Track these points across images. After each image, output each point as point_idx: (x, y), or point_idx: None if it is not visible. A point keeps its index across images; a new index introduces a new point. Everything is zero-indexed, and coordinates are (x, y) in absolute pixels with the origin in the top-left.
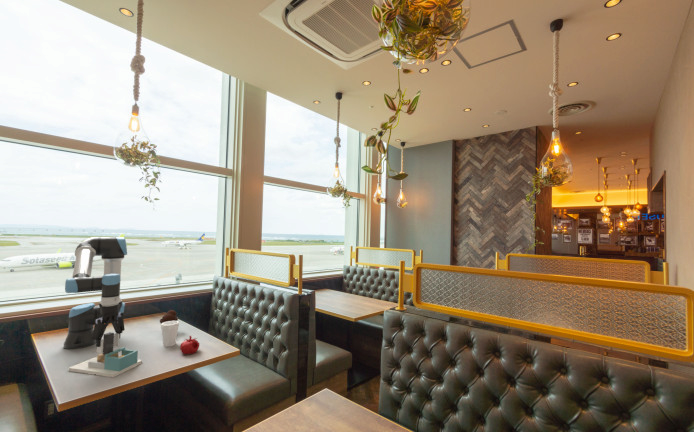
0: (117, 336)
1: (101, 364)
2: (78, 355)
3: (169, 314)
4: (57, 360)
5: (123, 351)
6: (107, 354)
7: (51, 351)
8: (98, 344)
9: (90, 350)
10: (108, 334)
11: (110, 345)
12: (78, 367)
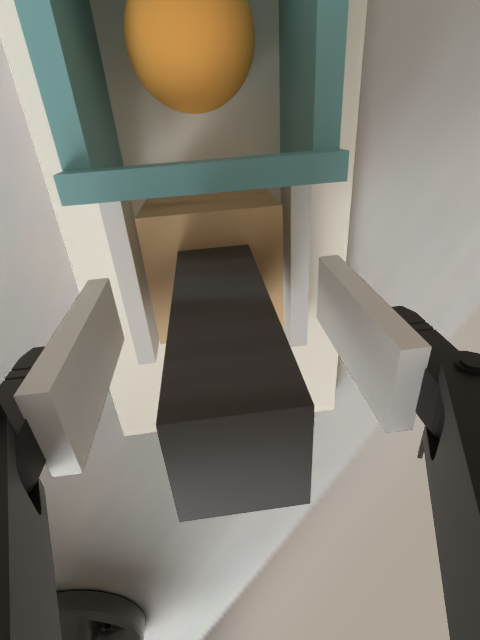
0: (70, 373)
1: (309, 202)
2: (166, 528)
3: None
4: (246, 539)
5: (95, 161)
6: (336, 151)
7: (189, 623)
8: (425, 325)
9: (95, 542)
10: (298, 420)
11: (223, 286)
12: (319, 367)
